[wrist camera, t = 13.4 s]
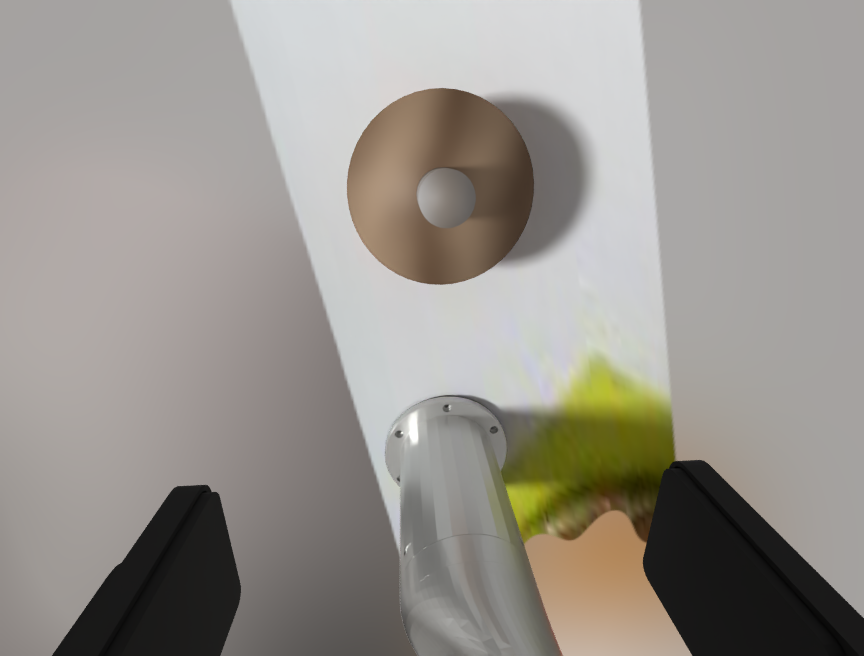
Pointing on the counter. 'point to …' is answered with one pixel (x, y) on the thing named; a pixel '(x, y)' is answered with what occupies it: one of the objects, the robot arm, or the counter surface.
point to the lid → (440, 186)
